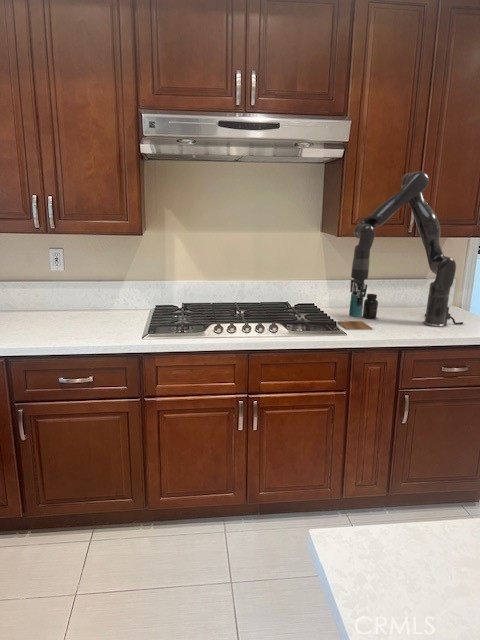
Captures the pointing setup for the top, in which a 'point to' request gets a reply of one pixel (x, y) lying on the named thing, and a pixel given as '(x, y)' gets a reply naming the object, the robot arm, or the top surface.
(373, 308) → the supplement bottle
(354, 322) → the cork coaster
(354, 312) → the teal can
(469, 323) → the top surface
